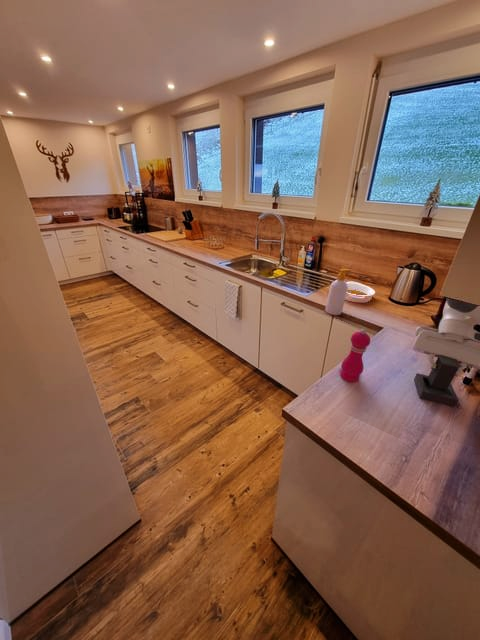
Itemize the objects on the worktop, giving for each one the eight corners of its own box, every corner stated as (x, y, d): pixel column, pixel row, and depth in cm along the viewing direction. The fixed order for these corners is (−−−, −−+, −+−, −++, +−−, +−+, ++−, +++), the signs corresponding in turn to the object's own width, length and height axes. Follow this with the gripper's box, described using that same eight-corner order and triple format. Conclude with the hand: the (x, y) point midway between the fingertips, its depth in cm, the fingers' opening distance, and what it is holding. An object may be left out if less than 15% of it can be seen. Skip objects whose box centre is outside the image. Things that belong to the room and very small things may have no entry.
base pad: (445, 387, 92) (449, 380, 91) (454, 407, 84) (458, 400, 82) (413, 379, 95) (416, 373, 94) (419, 398, 87) (422, 391, 85)
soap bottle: (345, 315, 139) (356, 272, 128) (327, 315, 139) (337, 271, 127) (339, 308, 146) (349, 267, 135) (323, 308, 146) (331, 266, 135)
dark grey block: (442, 381, 89) (455, 357, 84) (446, 390, 85) (460, 365, 80) (427, 377, 90) (439, 354, 85) (430, 386, 86) (443, 361, 82)
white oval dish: (376, 308, 149) (378, 300, 146) (335, 302, 154) (337, 294, 152) (370, 290, 173) (372, 283, 171) (334, 285, 178) (336, 279, 176)
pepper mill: (361, 375, 96) (377, 328, 87) (357, 386, 91) (373, 337, 81) (341, 367, 100) (354, 321, 90) (336, 377, 94) (349, 330, 85)
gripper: (420, 321, 89) (409, 359, 86) (497, 340, 80) (488, 382, 77) (415, 327, 95) (405, 362, 92) (487, 345, 86) (478, 385, 83)
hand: (443, 372), depth 85 cm, fingers closed on dark grey block, 5 cm apart
